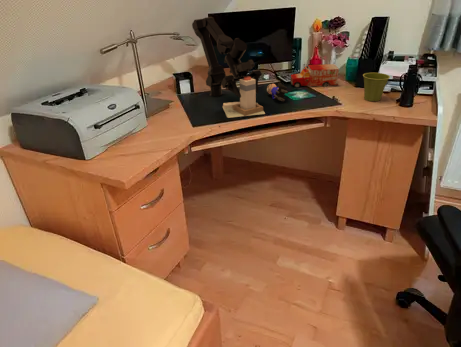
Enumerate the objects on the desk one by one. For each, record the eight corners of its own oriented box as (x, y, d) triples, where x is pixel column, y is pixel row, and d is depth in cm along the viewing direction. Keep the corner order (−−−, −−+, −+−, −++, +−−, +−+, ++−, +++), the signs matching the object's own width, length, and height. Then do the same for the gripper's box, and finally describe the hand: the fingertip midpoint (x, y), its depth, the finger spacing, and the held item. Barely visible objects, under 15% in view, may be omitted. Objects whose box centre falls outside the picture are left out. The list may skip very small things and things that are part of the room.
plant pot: (384, 104, 162) (388, 80, 156) (357, 101, 167) (360, 77, 161) (387, 96, 171) (391, 73, 165) (361, 94, 176) (365, 71, 170)
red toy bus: (289, 83, 198) (290, 65, 193) (333, 81, 197) (335, 63, 192) (291, 88, 189) (292, 70, 184) (338, 87, 188) (340, 68, 183)
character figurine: (276, 105, 168) (266, 96, 181) (290, 102, 169) (279, 93, 182) (275, 89, 164) (265, 81, 177) (290, 86, 165) (278, 78, 178)
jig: (222, 108, 166) (221, 102, 164) (257, 105, 168) (257, 98, 166) (227, 120, 153) (227, 113, 151) (265, 116, 155) (265, 109, 154)
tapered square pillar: (240, 109, 160) (239, 76, 153) (249, 107, 162) (248, 74, 155) (246, 112, 156) (245, 79, 149) (255, 110, 159) (255, 77, 151)
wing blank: (223, 106, 165) (223, 103, 164) (239, 104, 166) (239, 101, 165) (224, 108, 162) (224, 105, 162) (241, 106, 163) (241, 103, 163)
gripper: (223, 57, 146) (238, 89, 143) (259, 50, 154) (274, 81, 151) (215, 72, 156) (228, 103, 153) (249, 65, 164) (263, 94, 161)
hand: (249, 95), depth 155 cm, fingers open, 9 cm apart
